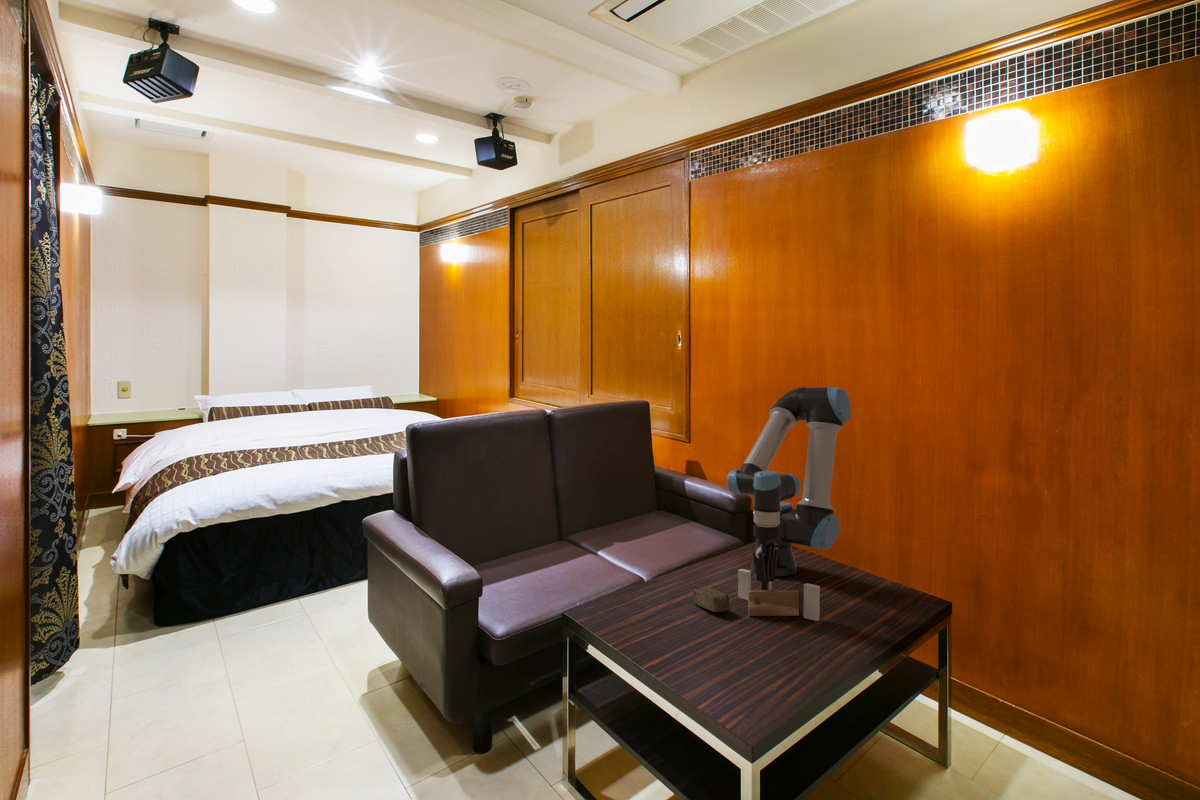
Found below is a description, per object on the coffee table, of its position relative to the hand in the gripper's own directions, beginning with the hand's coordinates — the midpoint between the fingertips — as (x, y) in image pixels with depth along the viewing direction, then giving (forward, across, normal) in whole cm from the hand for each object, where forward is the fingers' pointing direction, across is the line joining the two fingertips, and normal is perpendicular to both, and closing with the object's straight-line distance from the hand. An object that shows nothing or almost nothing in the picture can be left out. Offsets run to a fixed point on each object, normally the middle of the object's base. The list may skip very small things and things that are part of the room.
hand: (766, 603), depth 173 cm
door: (+3, -4, +9) cm, 10 cm away
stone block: (+4, +10, -10) cm, 15 cm away
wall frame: (+3, -4, 0) cm, 5 cm away
